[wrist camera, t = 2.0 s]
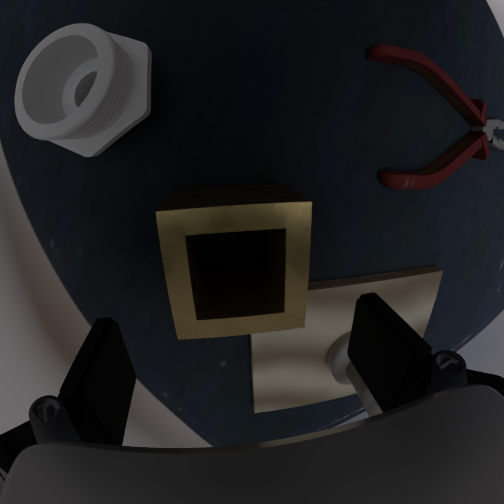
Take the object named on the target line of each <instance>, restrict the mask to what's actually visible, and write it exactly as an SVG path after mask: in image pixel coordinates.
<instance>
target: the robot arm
mask: <svg viewBox="0 0 504 504" xmlns="http://www.w3.org/2000/svg"><path fill="white" fill-rule="evenodd" d="M431 351H432V348H431V346H430V345H429V344H428V343H427V342H426V341H425V340H424V339H423V338H422V337H421V336H420V335H419V334H418V333H417V332H416V331H415V330H414V329H413V328H412V327H411V326H410V325H409V324H408V323H407V322H406V321H405V320H404V319H403V318H401V317H400V316H399V315H398V314H397V313H396V312H395V311H394V310H393V309H392V308H391V307H390V306H389V305H388V304H387V303H386V302H385V301H384V300H383V299H382V298H381V297H380V296H379V295H377V294H376V293H375V292H372V293H366V294H362V295H361V296H360V298H358V299H357V300H356V305H355V311H354V317H353V323H352V329H351V334H350V339H349V344H348V349H347V354H348V357H349V359H350V361H351V362H352V364H353V366H354V367H355V369H356V370H357V372H358V373H359V375H360V377H361V378H362V380H363V381H364V383H365V385H366V386H367V388H368V389H369V391H370V393H371V394H372V396H373V398H374V399H375V401H376V402H377V404H378V406H379V407H380V409H381V411H382V412H383V413H380V414H377V415H375V416H372V417H369V418H366V419H362V420H359V421H356V422H353V423H349V424H346V425H342V426H339V427H335V428H331V429H327V430H323V431H319V432H314V433H310V434H305V435H301V436H296V437H291V438H285V439H279V440H273V441H267V442H260V443H252V444H244V445H234V446H222V447H207V448H149V447H148V448H147V447H131V446H122V443H123V438H124V433H125V427H126V422H127V417H128V413H129V408H130V404H131V399H132V395H133V390H134V386H135V382H136V374H135V371H134V368H133V365H132V363H131V360H130V357H129V355H128V352H127V349H126V346H125V343H124V340H123V337H122V334H121V331H120V328H119V325H118V323H117V322H116V321H114V320H113V319H112V318H97V319H96V321H95V323H94V325H93V326H92V328H91V330H90V332H89V334H88V336H87V337H86V339H85V341H84V343H83V345H82V347H81V348H80V350H79V352H78V354H77V356H76V358H75V360H74V362H73V364H72V366H71V368H70V370H69V372H68V374H67V376H66V378H65V380H64V382H63V384H62V386H61V389H60V393H59V395H58V397H55V396H51V395H46V396H43V397H40V398H38V399H37V400H36V401H35V402H34V403H33V404H32V405H31V407H30V410H29V419H30V420H29V421H27V422H25V423H23V424H21V425H19V426H17V427H16V428H13V429H11V430H9V431H7V432H5V433H3V434H1V435H0V504H504V378H503V377H500V376H498V375H493V374H488V373H483V372H478V371H474V370H469V369H466V363H465V360H464V359H463V357H461V356H460V355H459V354H457V353H455V352H453V351H449V350H442V351H439V352H437V353H435V354H434V356H433V355H432V354H431Z"/></svg>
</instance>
